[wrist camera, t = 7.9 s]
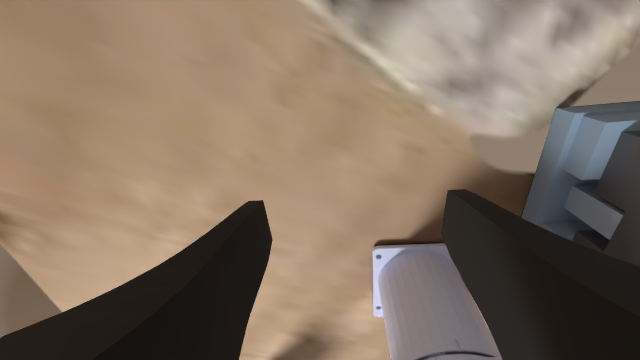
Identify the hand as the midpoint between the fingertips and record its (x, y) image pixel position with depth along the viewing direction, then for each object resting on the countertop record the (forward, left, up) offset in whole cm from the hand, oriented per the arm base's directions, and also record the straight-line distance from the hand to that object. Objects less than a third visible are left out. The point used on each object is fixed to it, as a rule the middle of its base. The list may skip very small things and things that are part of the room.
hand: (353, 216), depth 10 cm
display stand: (-5, -17, -9) cm, 20 cm away
